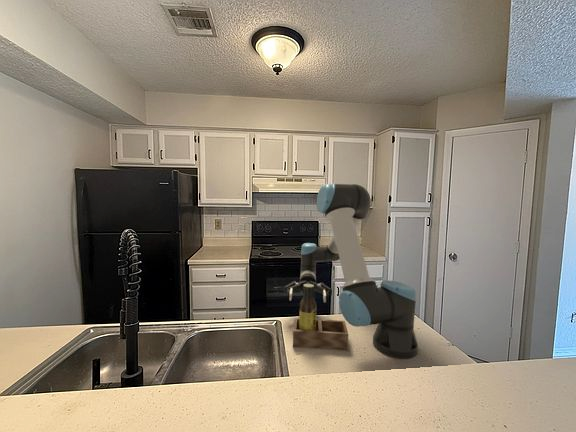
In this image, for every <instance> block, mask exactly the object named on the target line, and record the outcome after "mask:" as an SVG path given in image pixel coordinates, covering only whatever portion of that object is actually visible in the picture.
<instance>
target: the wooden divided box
mask: <svg viewBox="0 0 576 432" xmlns="http://www.w3.org/2000/svg"><path fill="white" fill-rule="evenodd" d="M348 345H349V332H348V327H347V324H346V320H337V319H336V320H335V319H334V320H333V319H320V318H316V331H311V330H299V317H295V318H294V320H293V329H292V347H293V348H299V349H300V348H301V349H304V348H306V349H315V350H316V349H318V350H331V351H332V350H333V351H344V352H345V351H346V352H348V349H349V346H348Z"/></svg>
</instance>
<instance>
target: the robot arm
mask: <svg viewBox="0 0 576 432" xmlns="http://www.w3.org/2000/svg"><path fill="white" fill-rule="evenodd" d="M371 206H372V199H371V195H370V192H369V191H368V190H367V189H366V188H365V187H364V186H362V185H359V184H355V183H353V184H349V183H347V184H345V183H325V184H322V186H321V187H320V188H319V190H318V193H317V198H316V207H317V211H318V212H319V213H320V214H324V216H325V220H326V221H328V222H329V223H330V225H331V229H332V230H331V231H332V232H333V233H332V236H331V238H330V240H329V242H328V244H327V245H326V246H317V244H316V243H313V242H312V243H311V242H305V243H303V244H302V245H301V249H300V250H301V251H300V260H301V261H300V277H299V281H298V282H296V280H292V282H290V283H288V284H287V285H284V286H283V293H285V294H286V293H287V296H289V298H288V299H289V301H292V299H293V293H296V292H299V291H300V292H303V291H304V290H303V285H304V284H312V285H314V293H315V292H316V293H318V294H320V295H323V296H322V298H323V303H326V302H327V298H329V296H332V295H333V289H332V288H331V287H329V286H327V285H326V284H325V283H324V282H322V281H321V282H320V283H317V276H316V274H317V271H316V267H317V263H321V262H322V263H325V262H337V261H339V262H340V266H341V271H342V274H343V278H344V284H343V286H342V288H341V289H342V292H340V294H339V298H338V300H339V301H338V304H339V309H340V312H341V314H342V316H343V318H344V321H345V322H347V323H348V324H349V325H351V326H352V327H353V326H354V327H356V328H357V327H368V326H373V325H377V326H376V328H375V330H374V333H373V335H372V345H373V346H374V347H375V349H376V350H377V351H378V352H381V353H382V354H384V355H385V356H389V357H392V358H395V359H396V358H397V359H410V358H413V357H415V356H416V355H418V349H419V345H418V344H419V343H418V341H417V338H416V333H415V330H414V325H415V312H416V302H417V299H416V289H414V288H413V287H412V286H410V285H409V284H406V283H402V282H399V281H396V280H395V281H394V280H389V279H388V280H382V281H381V282H380V287H379V286H377V283H376V280H375V279H373V278H371V277H370V274H369V271H368V268H367V264H366V261H365V257H364V253H363V250H362V246H361V242H360V238H359V236H358V231H357V227H358V225H359V224H360V223H361V221H362V220H364V219H366V217H367V215H368V214H369V212H370V209H371Z"/></svg>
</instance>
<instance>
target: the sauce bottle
mask: <svg viewBox="0 0 576 432" xmlns="http://www.w3.org/2000/svg"><path fill="white" fill-rule="evenodd" d="M302 291H303V296H302V299H301V300H300V301H299V312H298V313H299V317H298V318H299V330H311V331H316V319H317V303H316V300H315V296H314V293H315V292H314V285H312V284H304V285H303V290H302Z"/></svg>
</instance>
